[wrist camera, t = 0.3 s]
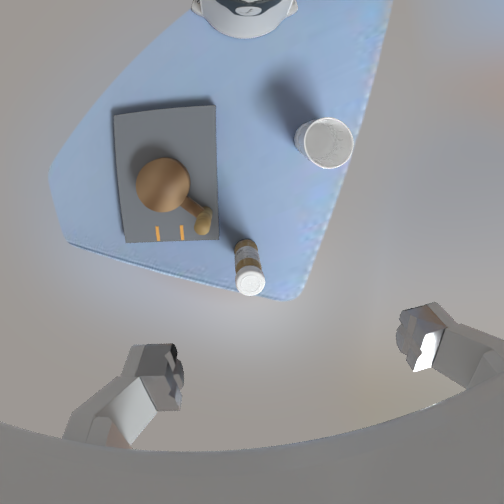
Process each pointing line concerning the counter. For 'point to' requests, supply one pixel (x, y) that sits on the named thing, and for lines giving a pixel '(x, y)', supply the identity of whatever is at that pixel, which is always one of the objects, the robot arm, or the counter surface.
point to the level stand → (173, 146)
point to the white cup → (324, 142)
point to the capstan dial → (170, 191)
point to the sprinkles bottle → (248, 268)
